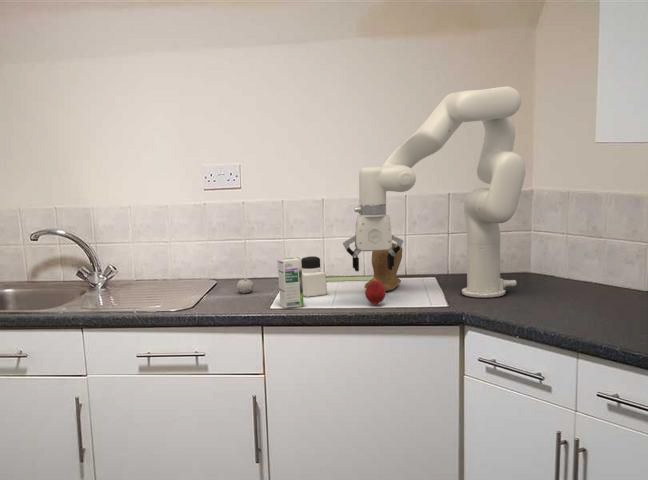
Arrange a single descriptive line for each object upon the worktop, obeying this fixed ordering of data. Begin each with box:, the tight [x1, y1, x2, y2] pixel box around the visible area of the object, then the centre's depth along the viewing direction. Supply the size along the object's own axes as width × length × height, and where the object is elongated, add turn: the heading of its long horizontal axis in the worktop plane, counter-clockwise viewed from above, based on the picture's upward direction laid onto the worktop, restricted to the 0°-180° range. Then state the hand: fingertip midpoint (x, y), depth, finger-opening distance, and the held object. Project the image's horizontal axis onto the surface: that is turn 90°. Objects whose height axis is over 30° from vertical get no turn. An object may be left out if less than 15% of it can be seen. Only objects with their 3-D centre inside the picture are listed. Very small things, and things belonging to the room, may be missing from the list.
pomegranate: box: [365, 278, 386, 306], centre depth 221 cm, size 6×6×8 cm
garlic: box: [236, 277, 254, 295], centre depth 250 cm, size 6×5×5 cm
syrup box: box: [277, 256, 305, 309], centre depth 226 cm, size 6×6×14 cm
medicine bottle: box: [300, 255, 328, 298], centre depth 242 cm, size 7×7×12 cm
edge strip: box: [326, 275, 374, 282], centre depth 264 cm, size 20×6×1 cm, turn 81°
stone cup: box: [364, 242, 403, 292], centre depth 243 cm, size 15×12×15 cm
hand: (373, 269), depth 220 cm, fingers open, 9 cm apart
